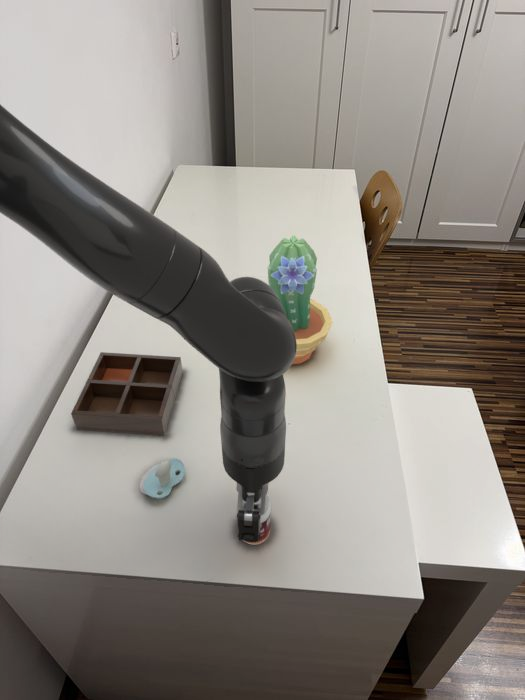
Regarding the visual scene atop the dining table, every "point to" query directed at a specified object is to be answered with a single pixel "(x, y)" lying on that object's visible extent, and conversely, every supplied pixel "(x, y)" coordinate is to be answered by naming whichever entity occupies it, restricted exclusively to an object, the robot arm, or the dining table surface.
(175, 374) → the grid
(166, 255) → the robot arm
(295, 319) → the potted cactus
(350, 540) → the dining table surface
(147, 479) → the pacifier
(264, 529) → the pill bottle
